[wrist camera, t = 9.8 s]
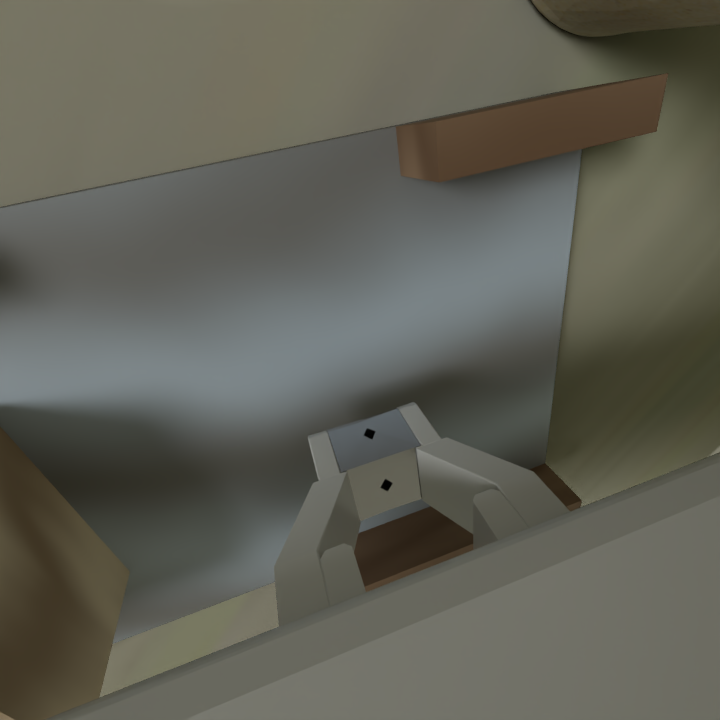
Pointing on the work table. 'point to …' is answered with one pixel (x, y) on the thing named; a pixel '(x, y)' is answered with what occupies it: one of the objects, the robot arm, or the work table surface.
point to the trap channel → (294, 332)
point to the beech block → (51, 596)
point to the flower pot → (628, 15)
